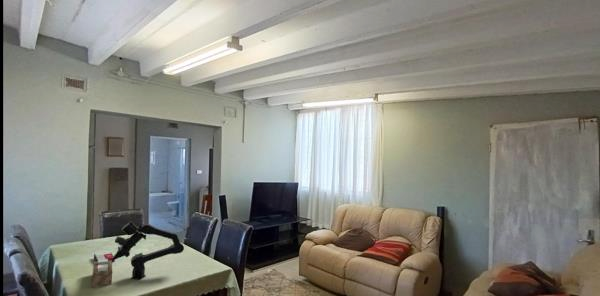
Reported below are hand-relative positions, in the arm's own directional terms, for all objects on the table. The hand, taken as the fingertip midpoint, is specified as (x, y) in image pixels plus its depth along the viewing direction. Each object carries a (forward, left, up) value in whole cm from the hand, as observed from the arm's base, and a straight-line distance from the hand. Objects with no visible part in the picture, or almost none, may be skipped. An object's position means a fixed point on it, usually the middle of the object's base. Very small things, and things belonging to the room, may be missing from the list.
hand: (112, 259), depth 202 cm
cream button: (+4, +3, -6) cm, 8 cm away
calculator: (+31, -31, -14) cm, 46 cm away
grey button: (+11, -5, -6) cm, 13 cm away
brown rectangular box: (+7, -1, -13) cm, 15 cm away
